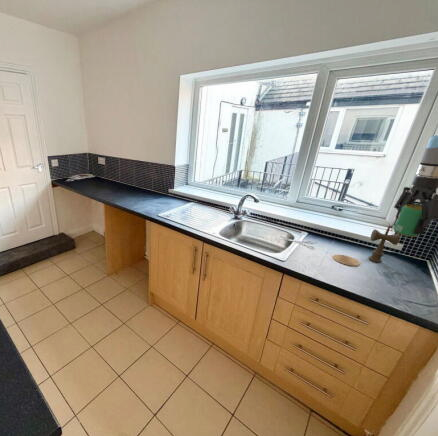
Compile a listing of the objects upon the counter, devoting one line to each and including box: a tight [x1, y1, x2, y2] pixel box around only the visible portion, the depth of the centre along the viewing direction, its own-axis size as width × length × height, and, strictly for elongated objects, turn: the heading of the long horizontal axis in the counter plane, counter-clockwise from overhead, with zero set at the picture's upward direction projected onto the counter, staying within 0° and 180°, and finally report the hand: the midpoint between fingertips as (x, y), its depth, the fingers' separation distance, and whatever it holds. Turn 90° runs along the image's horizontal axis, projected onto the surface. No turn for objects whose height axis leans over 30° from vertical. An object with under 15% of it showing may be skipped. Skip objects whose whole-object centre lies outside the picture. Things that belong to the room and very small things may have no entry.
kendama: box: [368, 225, 401, 264], centre depth 121 cm, size 6×10×20 cm, turn 58°
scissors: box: [279, 235, 318, 250], centre depth 144 cm, size 11×1×20 cm
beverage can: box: [393, 203, 422, 238], centre depth 102 cm, size 8×8×12 cm
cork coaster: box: [332, 254, 360, 267], centre depth 125 cm, size 11×11×1 cm
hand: (407, 229), depth 103 cm, fingers closed on beverage can, 8 cm apart
